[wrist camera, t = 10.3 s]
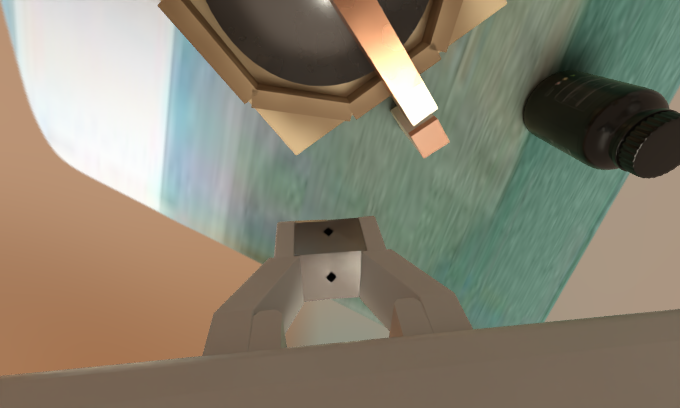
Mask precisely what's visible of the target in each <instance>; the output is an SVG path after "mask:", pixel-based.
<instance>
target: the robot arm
mask: <svg viewBox="0 0 680 408" xmlns="http://www.w3.org/2000/svg"><path fill="white" fill-rule="evenodd" d="M352 297H360V299H361V300H362V301H363V302H364V303H365V305H366V306H367V307H368V308H369V309H370V310H371V311H372V312H373V313H374V315H375V316H376V317H377V318H378V319H379V320H380V321H381V322H382V323H383V325H384V326H385V327H386V328H387V329H388V330H389V331H390V334H389V338H381V339H371V340H361V341H350V342H340V343H330V344H320V345H310V346H301V347H291V348H287V345H286V339H285V333H286V332H287V330H288V328H289V327H290V325H291V324H292V322H293V320H294V319H295V317H296V315H297V314H298V312H299V310H300V309H301V307H302V305H303V303H304V302H306V301H315V300H324V299H335V298H352ZM0 408H680V309H675V310H665V311H655V312H645V313H635V314H625V315H614V316H604V317H594V318H584V319H575V320H564V321H554V322H543V323H533V324H523V325H513V326H503V327H493V328H483V329H473V328H472V326H471V324H470V322H469V320H468V318H467V317H466V315H465V313H464V311H463V309H462V307H461V305H460V303H459V301H458V299H457V297H456V295H455V293H454V292H452V291H451V290H449V289H448V288H446V287H445V286H443V285H442V284H441V283H439V282H438V281H436V280H435V279H433V278H432V277H430V276H429V275H428V274H426V273H425V272H423V271H422V270H420V269H419V268H417V267H416V266H415V265H413V264H412V263H410V262H409V261H407V260H406V259H404V258H403V257H402V256H400V255H399V254H397V253H396V252H394V251H393V250H391V249H388V250H386V247H385V244H384V241H383V238H382V235H381V233H380V230H379V227H378V224H377V221H376V218H375V217H374V216H367V217H358V218H348V219H334V220H307V221H295V222H294V221H287V222H278V224H277V230H276V241H275V252H274V258H269V259H268V260H267V261H266V262H265V263H264V264H263V265H262V266H261V267H260V268H259V269H258V270H257V271H256V272H255V273H254V274H253V275H252V276H251V277H250V278H249V279H248V280H247V281H246V282H245V283H244V284H243V285H242V286H241V287H240V288H239V289H238V290H237V291H236V292H235V293H234V294H233V295H232V296H231V297H230V298H229V299H228V300H227V301H226V302H225V303H224V304H223V305H222V306H221V307H220V308H219V309H218V310H217V311H216V312H215V313H214V315H213V318H212V322H211V326H210V329H209V333H208V337H207V341H206V344H205V348H204V352H203V356H198V357H188V358H178V359H168V360H158V361H149V362H138V363H127V364H117V365H107V366H98V367H88V368H77V369H67V370H57V371H48V372H47V371H46V372H37V373H26V374H16V375H6V376H0Z"/></svg>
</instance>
